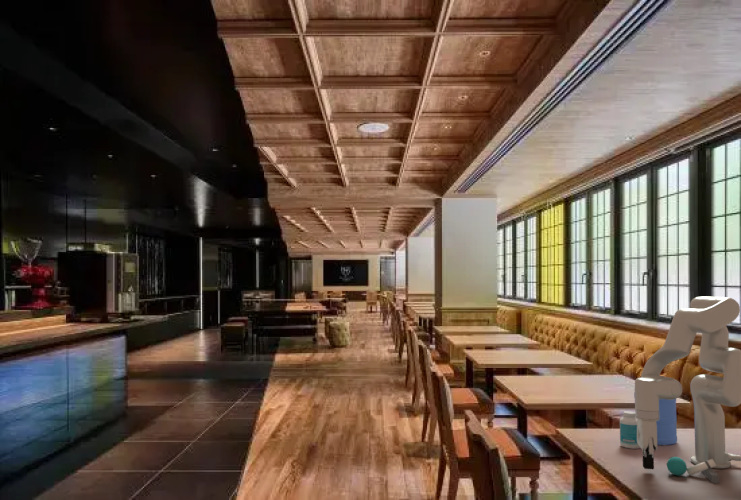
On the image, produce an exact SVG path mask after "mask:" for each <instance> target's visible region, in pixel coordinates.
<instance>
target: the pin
mask: <svg viewBox="0 0 741 500" xmlns="http://www.w3.org/2000/svg"><path fill="white" fill-rule="evenodd" d="M715 466H716V464H715V462H714V461H713V459H710V460H707V461H704V462H702V463H700V464H694V465H692V466H689V467H687V470H686V472H687V474H688V476H689V477H690V476H693V475H695V474H698V473H702V472H701V471H704V470H707V469H710V468H711V469H713V468H712V467H715Z"/></svg>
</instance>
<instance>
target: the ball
mask: <svg viewBox="0 0 741 500" xmlns="http://www.w3.org/2000/svg"><path fill="white" fill-rule="evenodd" d="M666 467H667V468H666V469H667V470H668V472H669V473H670V474H672V475H674V476H682V475H685V473H686V472H687V471H686V470H687V468H688V467H687V464H686V461H685V460H684V459H682V458H681V457H678V456H672V457H670V458H668V460H667V462H666Z"/></svg>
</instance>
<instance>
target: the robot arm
mask: <svg viewBox="0 0 741 500" xmlns="http://www.w3.org/2000/svg"><path fill="white" fill-rule="evenodd" d="M740 312H741V306H740V304H739V302H738V301H737V300H736V299H734V298H732V297H728V296H727V297H726V296H707V295H706V296H696V297H694V298H692V300H690V305H689V308H688V307H687V308H684V307H683V308H679V309H678V310H677V311H676V312H675V313H674V315H673V318H672V321H671V324H670V326H669V330H668V332H667V335H666V337H665V341H664V344H663V345H662V346H661V347H660V348H659V349H658V350H656V351H655V352H654V353H653V354H652V355H651V356H650V357H649V358H648V359H647V360H646V363H645V365H644V366H643V369H642V372H641V375H640V377H637V378H636V379H635V381H634V392H635V398H634V405H635V406H634V409H635V410H634V412H635V418H636V419H637V443H638V445H639V446H640V448H639V449H641V450H642V468H643V469H645V470H654V469H655V458H654V451H657V450H658V445H657V424H656V421H658V420H659V399H667V400H673V399H676V400H677V399H678V398H679V397H681V395H682V393H683V386H682V384H681V382H680V381H679V380H678V379H675V378H673V377H668V376H663V375H661V373H662V371H663V369H664V368H665V367H667V366H668V365H669V364H670V363H672V362H675V361H677V360H680V359H683V358H685V357H688V356H689V355H690V353H691V350H692V347H693V344H694V342H695V338H696V336H697V334H701V341H700V349H699V356H698V363H699V366H700V368H702V369H703V370H705V371H707V372H708V371H709V372H714V373H718V374H723V377H722V376H719V375H712V374H706V373H705V374H698V375H695V376H694V377H693V378H692V379H691V381H690V385H689V387H690V392H691V397H692V401H693V413H694V415H693V416H694V418H693V420H694V449H695V450H694V453H695V454H694V455H692V456H691V457H690V463H691V462H692V464H694V465H697V464H700V463H702V462H704V461H707V460H710V459H713V461H714V462H715V464H716V466H715V467H712V468H711V469H728V468H730V467H731V466H732V463H731V461H734V462H735V461H736V462H741V455H740V454H739V455H737V454H735V453H728V452H727V451H726V430H725V429H726V426H725V425H726V423H725V422H726V421H725V420H726V419H725V417H726V416H725V412H724V410H723V406H726V407H732V408H733V407H734V408H735V407H738V406H739V405H741V349H739V348H736V347H730V346H729V337H730V333H729V330H728V327H727V325H729V324H731V323H733V322H734V321H735V320H737V319H738V317H739V316H740Z"/></svg>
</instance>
